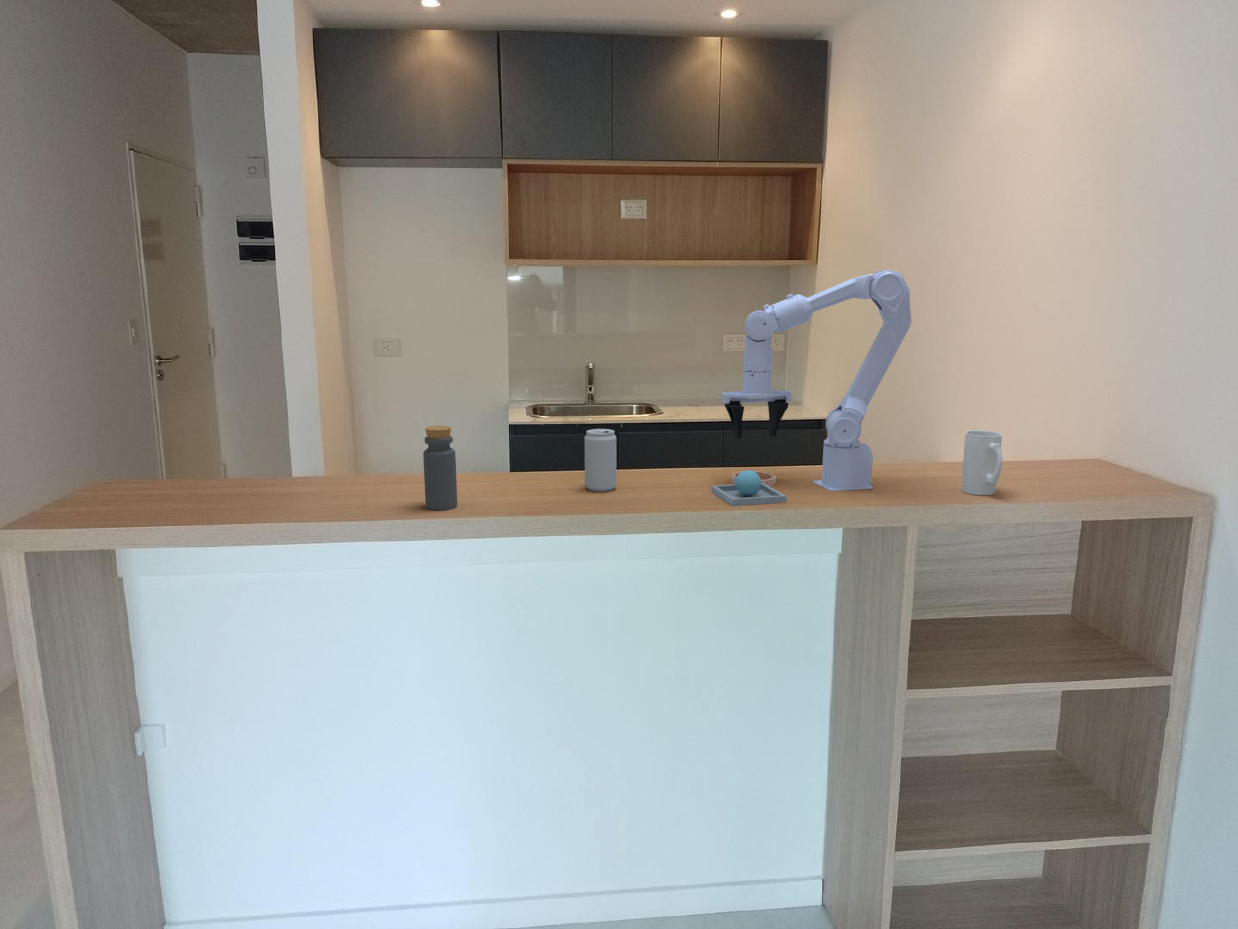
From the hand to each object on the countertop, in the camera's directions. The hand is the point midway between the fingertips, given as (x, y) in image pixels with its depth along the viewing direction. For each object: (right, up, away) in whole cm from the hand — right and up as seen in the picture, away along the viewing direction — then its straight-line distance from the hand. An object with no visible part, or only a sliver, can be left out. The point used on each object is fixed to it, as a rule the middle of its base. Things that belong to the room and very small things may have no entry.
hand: (755, 436), depth 178 cm
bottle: (-61, -14, -16) cm, 65 cm away
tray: (-3, -12, -10) cm, 16 cm away
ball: (-3, -12, -10) cm, 16 cm away
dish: (0, -10, +2) cm, 10 cm away
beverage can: (-32, -11, -3) cm, 34 cm away
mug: (+44, -12, -6) cm, 46 cm away
